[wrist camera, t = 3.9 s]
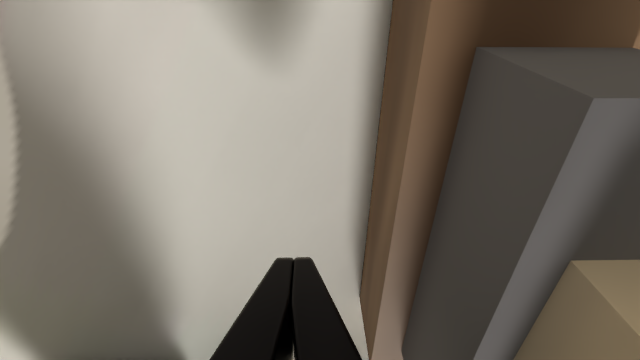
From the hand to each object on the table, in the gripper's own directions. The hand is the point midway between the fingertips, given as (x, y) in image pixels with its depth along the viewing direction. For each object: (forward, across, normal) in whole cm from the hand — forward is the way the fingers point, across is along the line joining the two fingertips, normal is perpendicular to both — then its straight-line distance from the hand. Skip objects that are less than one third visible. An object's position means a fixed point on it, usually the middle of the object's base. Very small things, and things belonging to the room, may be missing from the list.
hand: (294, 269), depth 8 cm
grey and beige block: (+1, -5, 0) cm, 5 cm away
